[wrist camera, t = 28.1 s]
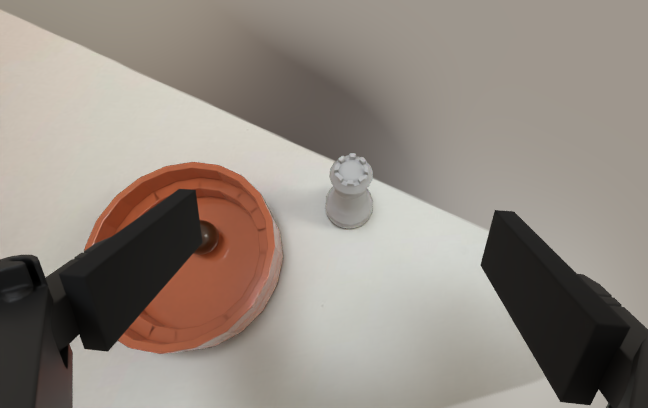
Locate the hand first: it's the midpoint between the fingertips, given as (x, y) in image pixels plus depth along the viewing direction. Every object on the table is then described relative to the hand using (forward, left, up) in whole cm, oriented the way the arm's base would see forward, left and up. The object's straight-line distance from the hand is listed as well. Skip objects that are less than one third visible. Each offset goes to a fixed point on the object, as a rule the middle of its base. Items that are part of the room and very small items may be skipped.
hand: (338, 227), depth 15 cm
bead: (+12, +2, -13) cm, 18 cm away
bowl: (+12, +4, -15) cm, 20 cm away
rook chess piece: (+2, -7, -16) cm, 17 cm away
